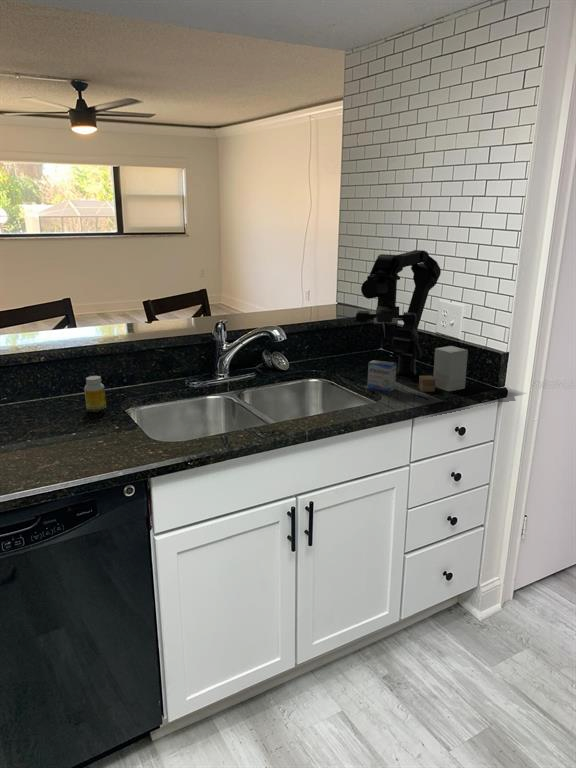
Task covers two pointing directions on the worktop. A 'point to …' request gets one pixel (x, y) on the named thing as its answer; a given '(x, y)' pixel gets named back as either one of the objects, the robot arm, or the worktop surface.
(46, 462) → the worktop surface
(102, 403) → the supplement bottle
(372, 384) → the medicine box
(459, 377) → the supplement box
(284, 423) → the worktop surface
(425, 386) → the walnut block
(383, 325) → the robot arm
